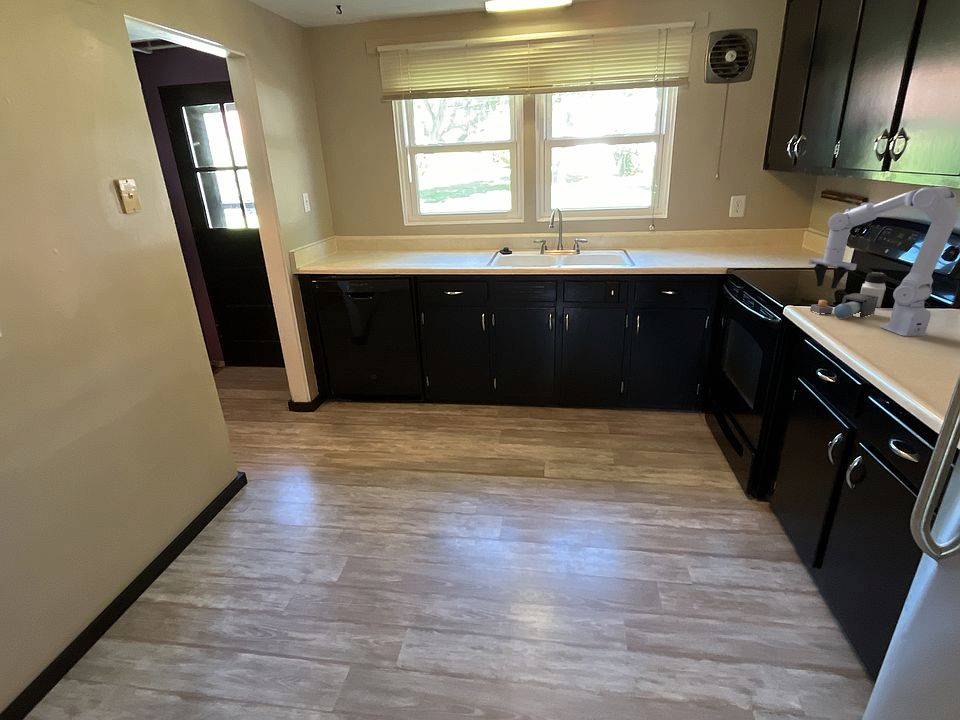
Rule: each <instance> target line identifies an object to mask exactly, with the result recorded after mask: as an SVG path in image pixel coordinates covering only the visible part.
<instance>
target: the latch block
mask: <svg viewBox="0 0 960 720" xmlns="http://www.w3.org/2000/svg"><path fill="white" fill-rule="evenodd" d="M810 310H812V311H814V312H817V313H832V314H833V311H834V307H833V306H830V305H827V306H826V307H818V304H810ZM810 310H809V311H810ZM814 312H813V313H814Z"/></svg>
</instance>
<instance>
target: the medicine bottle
mask: <svg viewBox="0 0 960 720" xmlns="http://www.w3.org/2000/svg"><path fill="white" fill-rule="evenodd" d="M887 278H888V275H886V273H883V272H868V273H867V274H866V277H865V281H864V283H862V286H861V289H860V293H859V294H865V295H871V296H877V297H879V298H878V301H877V305H876V308H879V309H880V308H881V307H882V304H883V301H884V297H885V294H886V287H887V286H886V281H887Z"/></svg>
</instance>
